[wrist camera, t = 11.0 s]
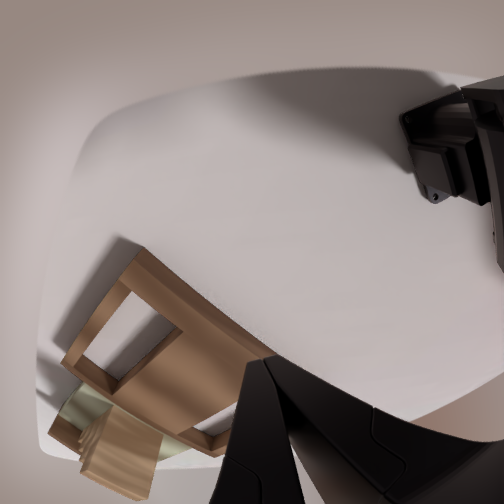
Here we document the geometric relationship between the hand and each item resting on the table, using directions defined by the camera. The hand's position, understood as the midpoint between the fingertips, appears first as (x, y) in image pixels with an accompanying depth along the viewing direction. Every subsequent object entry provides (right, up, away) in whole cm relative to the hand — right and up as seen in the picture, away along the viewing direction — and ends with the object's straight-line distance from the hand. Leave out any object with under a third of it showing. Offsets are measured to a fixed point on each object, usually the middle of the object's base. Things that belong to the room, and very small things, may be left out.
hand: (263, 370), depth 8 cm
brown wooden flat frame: (-10, -12, +18) cm, 24 cm away
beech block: (-15, -17, +18) cm, 29 cm away
